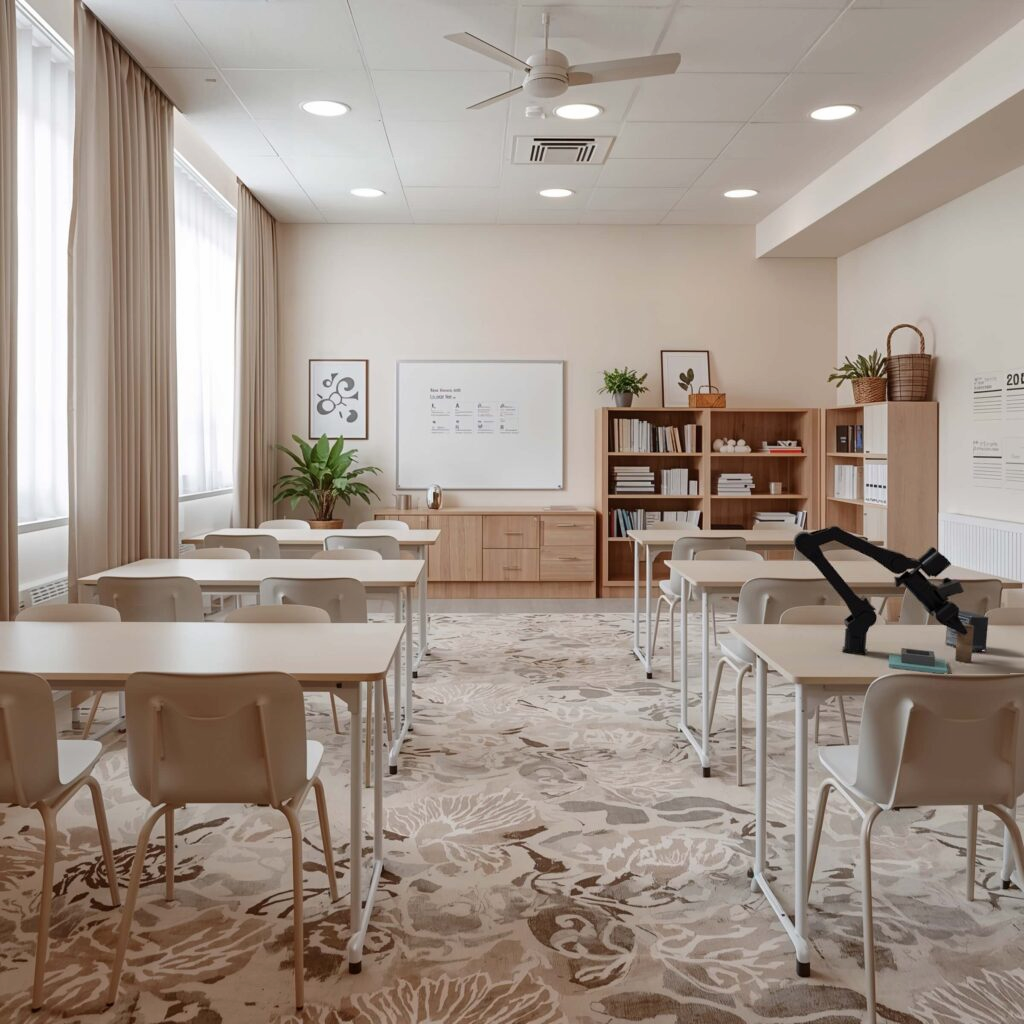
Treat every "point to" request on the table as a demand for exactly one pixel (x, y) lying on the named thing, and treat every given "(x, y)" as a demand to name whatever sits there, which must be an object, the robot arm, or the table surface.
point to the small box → (978, 633)
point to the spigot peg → (964, 645)
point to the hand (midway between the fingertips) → (962, 630)
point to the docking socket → (917, 661)
